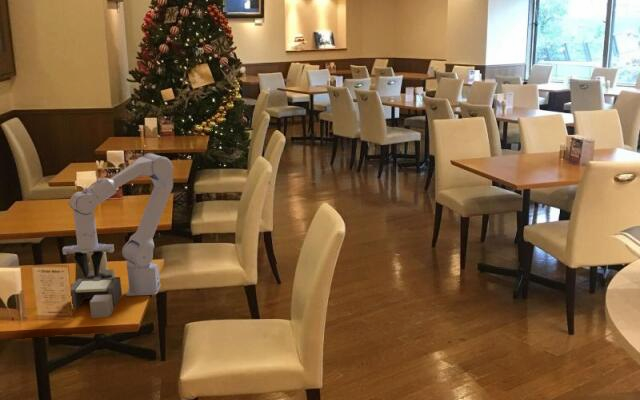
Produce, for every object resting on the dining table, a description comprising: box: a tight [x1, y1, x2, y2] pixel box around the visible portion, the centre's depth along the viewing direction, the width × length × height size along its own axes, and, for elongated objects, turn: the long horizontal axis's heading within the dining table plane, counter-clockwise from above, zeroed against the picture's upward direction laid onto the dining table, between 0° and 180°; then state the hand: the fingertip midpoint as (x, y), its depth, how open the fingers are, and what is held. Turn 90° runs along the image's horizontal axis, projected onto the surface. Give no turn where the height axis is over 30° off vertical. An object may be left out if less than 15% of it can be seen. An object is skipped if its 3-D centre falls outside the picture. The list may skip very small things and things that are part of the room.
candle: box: [89, 252, 109, 271], centre depth 221 cm, size 6×6×10 cm
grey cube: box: [89, 294, 114, 319], centre depth 193 cm, size 5×5×5 cm
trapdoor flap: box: [75, 269, 116, 292], centre depth 202 cm, size 9×12×4 cm
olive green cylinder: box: [72, 253, 91, 283], centre depth 214 cm, size 6×6×11 cm
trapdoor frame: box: [70, 276, 123, 310], centre depth 201 cm, size 13×9×6 cm
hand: (91, 275), depth 197 cm, fingers open, 2 cm apart
